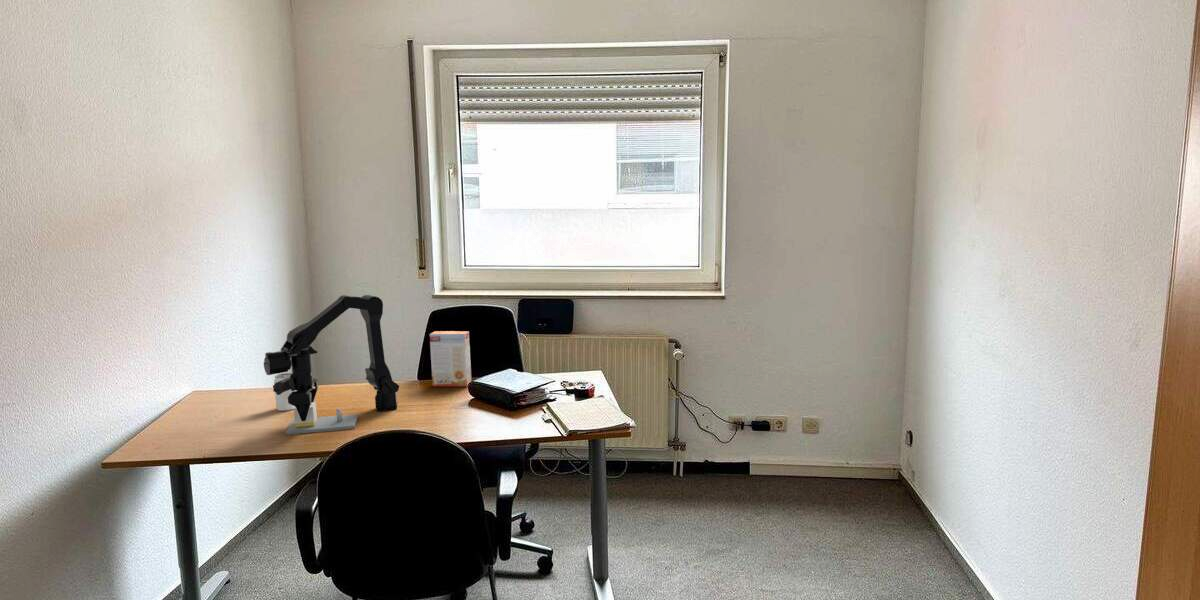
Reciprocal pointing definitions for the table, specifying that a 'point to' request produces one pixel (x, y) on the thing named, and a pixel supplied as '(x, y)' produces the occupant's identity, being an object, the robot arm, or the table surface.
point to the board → (326, 424)
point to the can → (283, 395)
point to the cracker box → (450, 358)
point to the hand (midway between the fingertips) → (306, 416)
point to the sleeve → (310, 418)
